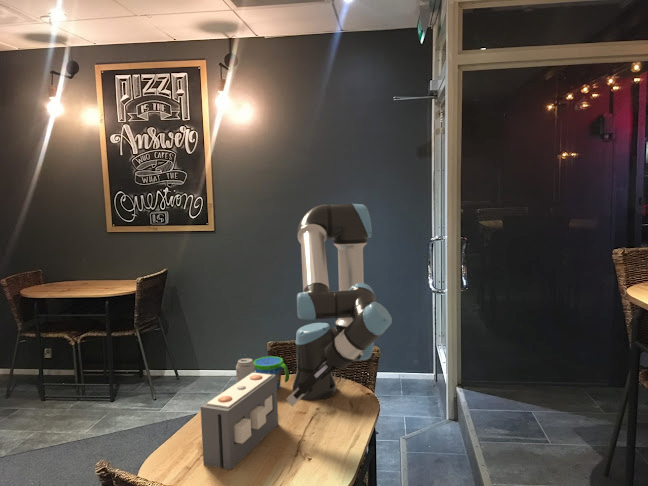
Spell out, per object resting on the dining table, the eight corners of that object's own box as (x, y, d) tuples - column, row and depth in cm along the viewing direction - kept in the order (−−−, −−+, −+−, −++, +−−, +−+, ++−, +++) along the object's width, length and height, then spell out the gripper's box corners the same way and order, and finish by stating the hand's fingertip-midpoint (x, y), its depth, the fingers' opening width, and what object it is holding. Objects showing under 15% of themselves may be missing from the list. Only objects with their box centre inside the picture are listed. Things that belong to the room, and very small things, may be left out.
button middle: (249, 427, 129) (248, 412, 129) (257, 420, 134) (257, 405, 133) (258, 429, 129) (257, 413, 128) (266, 422, 133) (265, 406, 132)
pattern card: (206, 404, 123) (206, 402, 122) (252, 373, 144) (252, 372, 144) (228, 408, 120) (228, 405, 120) (271, 376, 141) (271, 374, 141)
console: (203, 464, 123) (200, 406, 121) (254, 420, 147) (252, 371, 145) (230, 470, 120) (227, 411, 118) (278, 424, 144) (276, 374, 143)
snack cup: (242, 389, 171) (241, 361, 171) (261, 380, 180) (260, 353, 180) (278, 398, 163) (277, 368, 162) (295, 387, 172) (294, 359, 171)
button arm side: (257, 414, 138) (256, 399, 137) (264, 408, 142) (264, 393, 141) (265, 415, 137) (264, 400, 136) (272, 409, 141) (272, 394, 140)
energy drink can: (252, 409, 155) (251, 363, 153) (235, 408, 156) (233, 363, 155) (258, 401, 161) (256, 357, 159) (241, 400, 162) (239, 357, 160)
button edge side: (233, 442, 122) (232, 425, 122) (242, 434, 126) (241, 417, 126) (242, 443, 121) (241, 426, 121) (251, 435, 125) (250, 419, 125)
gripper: (345, 368, 121) (288, 422, 129) (361, 352, 133) (308, 403, 141) (325, 345, 123) (270, 400, 131) (342, 332, 135) (291, 383, 143)
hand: (290, 401), depth 136 cm, fingers closed
